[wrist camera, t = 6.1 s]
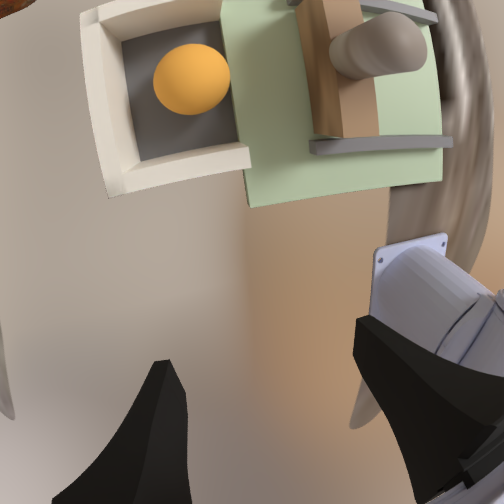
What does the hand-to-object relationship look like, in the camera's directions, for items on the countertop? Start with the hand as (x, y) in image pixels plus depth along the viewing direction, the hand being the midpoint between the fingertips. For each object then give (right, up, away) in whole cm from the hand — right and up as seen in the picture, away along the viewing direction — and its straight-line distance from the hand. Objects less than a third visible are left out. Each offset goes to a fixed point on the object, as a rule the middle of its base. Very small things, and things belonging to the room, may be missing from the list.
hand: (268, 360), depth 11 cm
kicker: (+3, +15, +4) cm, 16 cm away
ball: (-4, +13, +3) cm, 14 cm away
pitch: (+2, +15, +5) cm, 16 cm away
